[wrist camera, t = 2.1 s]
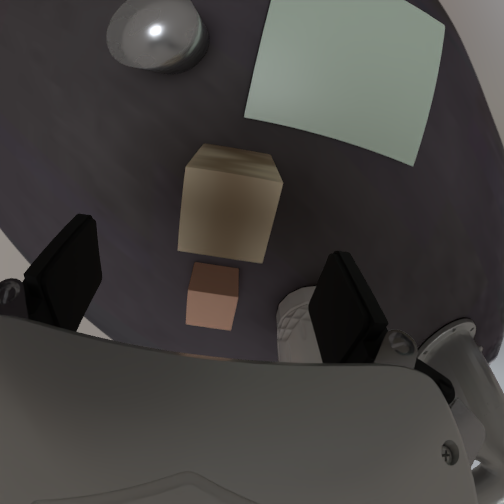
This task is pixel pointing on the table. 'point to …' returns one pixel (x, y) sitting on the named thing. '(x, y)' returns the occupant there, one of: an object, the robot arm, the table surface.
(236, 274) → the terracotta cube
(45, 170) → the table surface
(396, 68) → the sage plate
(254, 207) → the maple block
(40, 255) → the robot arm
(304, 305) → the white cup
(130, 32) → the grey metal cylinder
